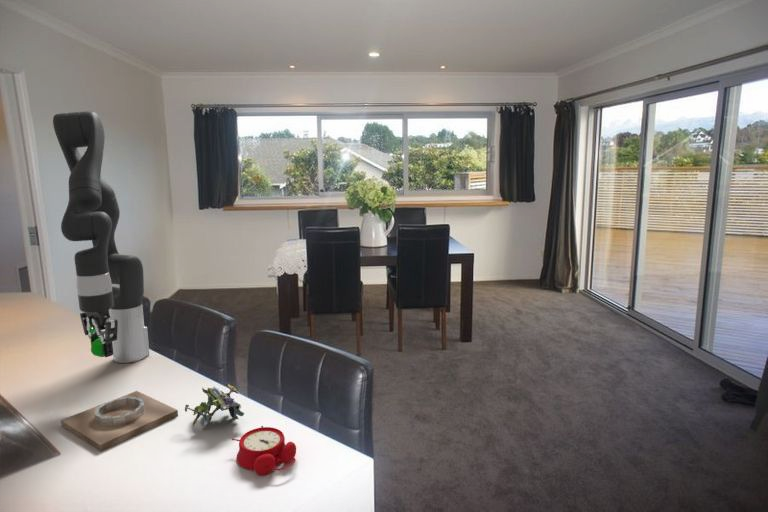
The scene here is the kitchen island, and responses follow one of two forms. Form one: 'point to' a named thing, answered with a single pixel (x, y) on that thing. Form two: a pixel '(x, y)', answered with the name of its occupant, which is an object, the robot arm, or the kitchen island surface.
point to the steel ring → (120, 418)
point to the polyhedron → (97, 348)
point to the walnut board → (113, 435)
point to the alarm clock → (264, 450)
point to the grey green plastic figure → (217, 404)
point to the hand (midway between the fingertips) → (102, 353)
